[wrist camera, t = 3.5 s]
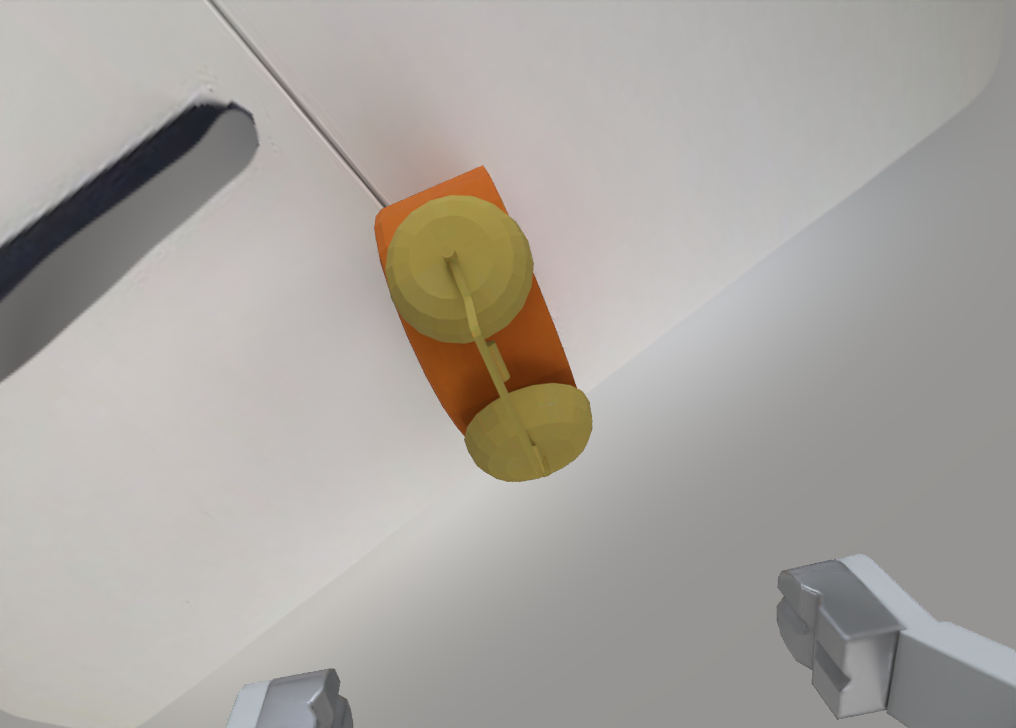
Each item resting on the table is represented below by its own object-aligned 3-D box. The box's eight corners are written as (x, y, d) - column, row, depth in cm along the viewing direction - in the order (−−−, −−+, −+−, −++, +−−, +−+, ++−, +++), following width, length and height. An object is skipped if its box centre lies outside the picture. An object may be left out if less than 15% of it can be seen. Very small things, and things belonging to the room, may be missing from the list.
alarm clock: (385, 198, 34) (320, 263, 16) (477, 159, 34) (519, 178, 16) (470, 377, 39) (495, 585, 21) (550, 344, 39) (647, 525, 21)
